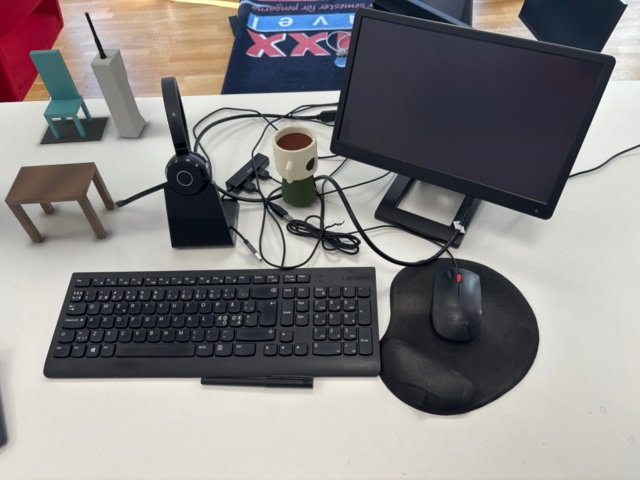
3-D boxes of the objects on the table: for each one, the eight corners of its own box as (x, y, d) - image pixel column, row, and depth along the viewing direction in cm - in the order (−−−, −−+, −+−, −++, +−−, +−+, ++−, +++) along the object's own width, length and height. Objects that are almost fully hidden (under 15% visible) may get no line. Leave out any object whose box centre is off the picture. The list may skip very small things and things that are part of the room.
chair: (92, 119, 109) (61, 48, 97) (85, 137, 105) (51, 66, 93) (64, 121, 109) (28, 50, 97) (56, 139, 105) (18, 68, 93)
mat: (40, 144, 105) (40, 143, 105) (51, 121, 110) (51, 120, 110) (100, 140, 105) (99, 139, 105) (108, 118, 110) (107, 116, 110)
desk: (33, 243, 87) (4, 200, 80) (47, 209, 92) (21, 166, 85) (105, 238, 87) (82, 195, 80) (115, 204, 92) (94, 161, 85)
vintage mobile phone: (146, 123, 108) (103, 3, 89) (138, 138, 105) (92, 17, 86) (129, 123, 108) (82, 3, 89) (120, 138, 105) (70, 17, 86)
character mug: (313, 221, 88) (309, 162, 78) (273, 216, 89) (264, 158, 79) (324, 177, 95) (322, 118, 85) (287, 174, 96) (280, 115, 86)
